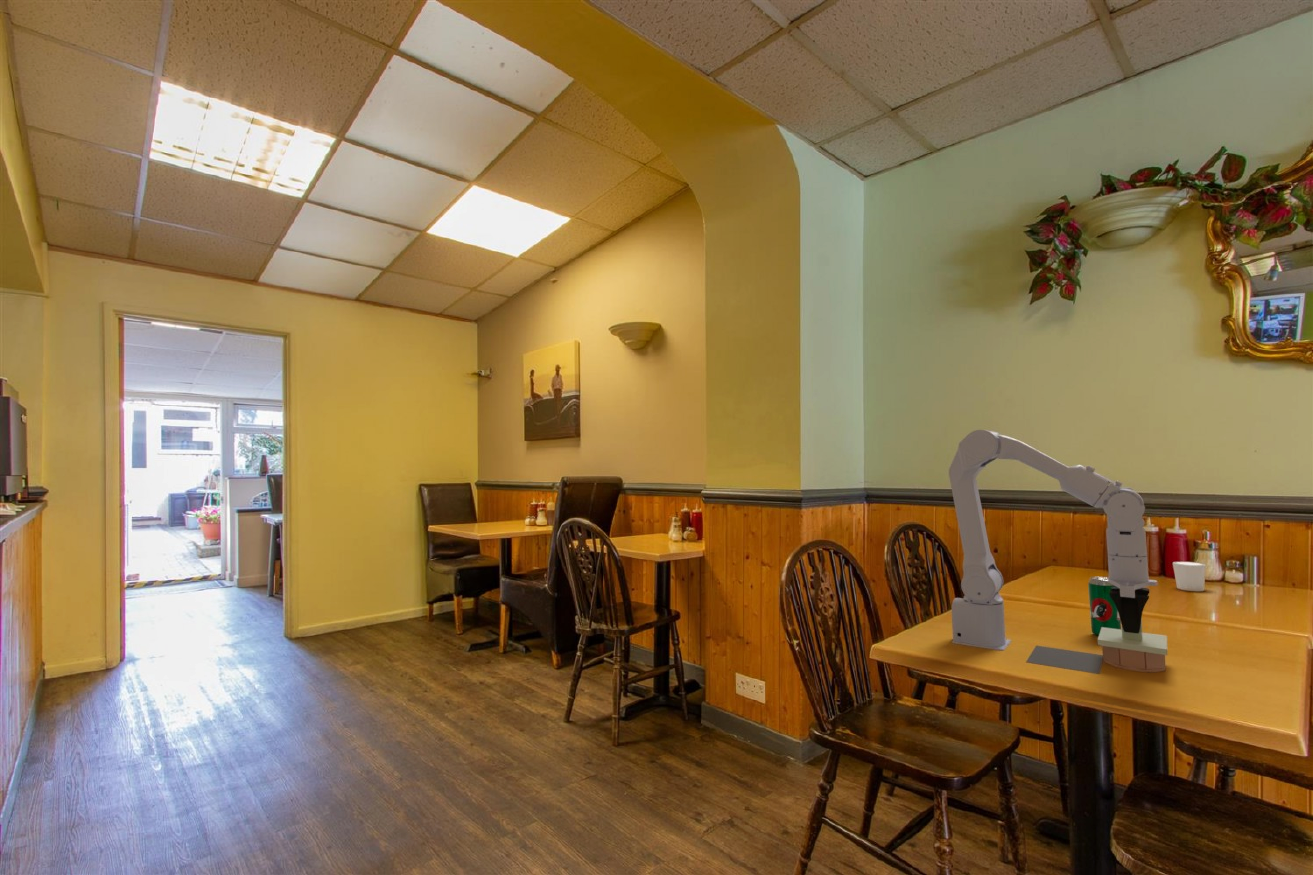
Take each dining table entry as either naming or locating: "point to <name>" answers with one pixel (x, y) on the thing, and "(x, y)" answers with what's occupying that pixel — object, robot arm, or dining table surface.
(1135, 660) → the bowl
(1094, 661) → the mat
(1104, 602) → the soda can
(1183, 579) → the white cup
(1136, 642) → the cover
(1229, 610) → the dining table surface
